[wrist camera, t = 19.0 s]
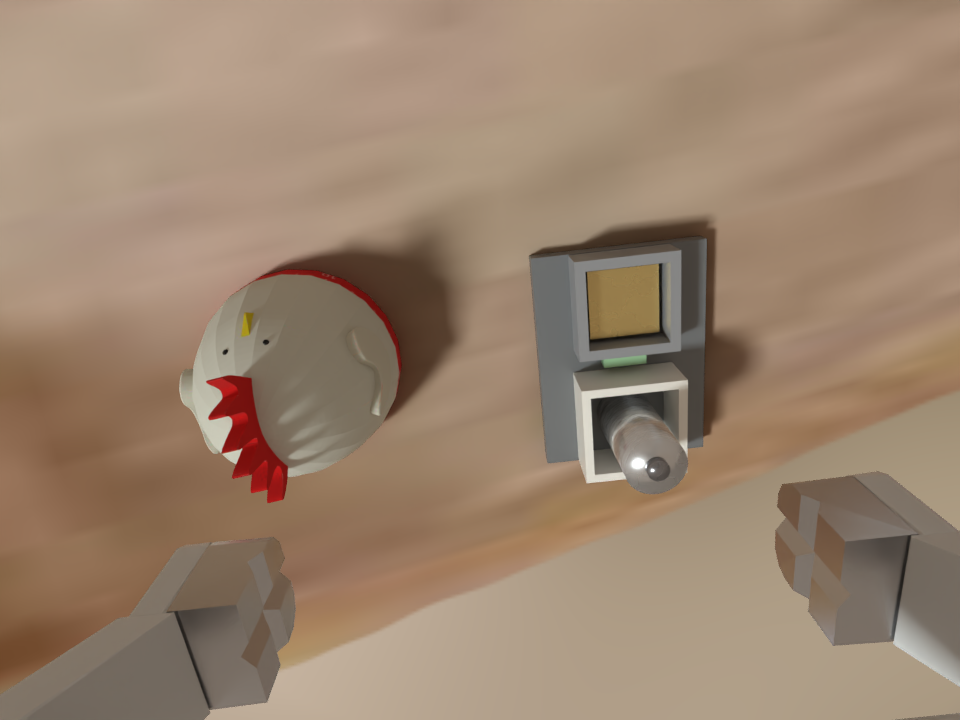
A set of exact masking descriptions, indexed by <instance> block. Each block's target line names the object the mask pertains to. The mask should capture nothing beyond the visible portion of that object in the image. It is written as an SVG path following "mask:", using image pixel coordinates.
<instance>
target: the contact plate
mask: <svg viewBox="0 0 960 720" xmlns="http://www.w3.org/2000/svg"><path fill="white" fill-rule="evenodd" d="M586 290H587V309H588V329H589V338H590V340H591V339H600V338H609V337H618V336H627V335H636V334H645V333H654V332H659V264H651V265H642V266H633V267H624V268H615V269H607V270H598V271H589V272H586Z"/></svg>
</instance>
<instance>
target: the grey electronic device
mask: <svg viewBox="0 0 960 720" xmlns="http://www.w3.org/2000/svg"><path fill="white" fill-rule="evenodd" d="M706 259H707V238H704V237H702V236H695V237H687V238H678V239H669V240H660V241H652V242H643V243H634V244H625V245H617V246H608V247H599V248H591V249H582V250H573V251H564V252H556V253H547V254H538V255H530V256H529V261H530V273H531V285H532V297H533V308H534V320H535V332H536V344H537V356H538V368H539V380H540V392H541V404H542V416H543V428H544V440H545V452H546V458H547V463H555V462H565V461H574V460H579V462H580V465H581V468H582V471H583V473H584V476H585V479H586V482H587V483H594V482H603V481H613V480H622V479H626V477H625V475H624V473H623V471H622V469H621V467H620V465H619V463H618V461H617V459H616V457H615V455H614V453H613V451H612V449H611V447H610V445H609V443H608V441H607V439H606V437H605V435H604V433H603V431H602V429H601V427H600V425H599V423H598V420H597V409H598V406H599V404H600V402H601V400H602V399H603V398H604V397H612V396H621V395H630V394H639V393H642V394H643V395H644V396H645V397H646V398H647V400H648V401H649V402H650V404H651V405H652V407H653V408H654V409H655V411H656V412H657V413H658V415H659V416H660V417H661V419H662V420H663V422H664V423H665V424H666V426H667V427H668V428H669V430H670V431H671V433H672V434H673V435H674V437H675V438H676V439H677V441H678V442H679V443H680V445H681V446H682V448H683V449H684V451H685V452H686V455H687V448H696V447H703V421H704V367H705V313H706ZM651 264H659V332H654V333H645V334H636V335H627V336H618V337H609V338H600V339H591V340H590V338H589V329H588V309H587V290H586V272H589V271H598V270H607V269H615V268H624V267H633V266H642V265H651ZM686 473H687V471H686Z"/></svg>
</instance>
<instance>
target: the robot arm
mask: <svg viewBox="0 0 960 720" xmlns="http://www.w3.org/2000/svg"><path fill="white" fill-rule="evenodd" d="M777 507H778V508H779V509H780V511H781V512H782V513H783V514H784V516H785V517H786V518H785V520H784V521H783V522H782V523H781V524H780V526H779V527H778V528H777V529H776V537H775V550H776V554H777V559H778V563H779V567H780V569H781V571H782V573H783V575H784V578H785V579H786V581H787V582H788V584H789V585H790V587H791V588H792V589H793V590H794V591H796V592H797V593H799V594H801V595H803V596H805V597H807V598H808V599H809V610H808V612H809V613H810V615H811V616H812V617H813V619H814V620H815V621H816V622H817V624H818V626H819V627H820V628H821V630H822V631H823V632H824V634H825V635H826V637H827V638H828V639H829V640H830V642H831V643H832V645H833V646H835V645H849V644H863V643H877V642H891V641H894V643H893V644H894V645H896V646H897V647H899V648H900V649H902V650H903V651H905V652H906V653H908V654H909V655H911V656H912V657H914V658H916V659H917V660H919V661H920V662H922V663H923V664H925V665H927V666H928V667H930V668H931V669H933V670H934V671H936V672H938V673H939V674H941V675H942V676H944V677H945V678H947V679H948V680H950V681H951V682H953V683H955V684H956V685H958V686H959V687H960V531H958V530H957V529H956V528H954V527H953V526H952V525H951V524H950V523H948V522H947V521H946V520H944V519H943V518H942V517H941V516H940V515H938V514H937V513H936V512H934V511H933V510H932V509H930V508H929V507H928V506H927V505H926V504H924V503H923V502H922V501H921V500H919V499H918V498H917V497H916V496H914V495H913V494H912V493H911V492H909V491H908V490H907V489H906V488H904V487H903V486H902V485H900V484H899V483H898V482H897V481H896V480H894V479H893V478H892V477H891V476H889V475H888V474H885V473H882V472H878V471H877V472H870V473H863V474H855V475H849V476H846V477H838V478H830V479H821V480H813V481H805V482H797V483H788V484H782V486H781V488H780V491H779V493H778V504H777ZM284 559H285V557H284V554H283V551H282V548H281V545H280V542H279V541H278V540H277V539H275V538H274V537H270V538H258V539H246V540H234V541H223V542H215V543H211V542H210V543H201V544H192V545H185V546H182V547H180V548H178V549H177V550H176V551H175V552H174V554H173V555H172V557H171V558H170V559H169V561H168V562H167V564H166V565H165V567H164V568H163V569H162V571H161V572H160V574H159V575H158V576H157V578H156V579H155V581H154V582H153V583H152V585H151V586H150V588H149V589H148V590H147V592H146V593H145V595H144V596H143V597H142V599H141V600H140V602H139V603H138V604H137V606H136V607H135V609H134V610H133V611H132V613H131V614H130V616H129V617H124V618H118V619H116V620H115V621H113V622H112V623H110V624H109V625H107V626H106V627H104V628H102V629H101V630H99V631H98V632H96V633H95V634H93V635H92V636H90V637H89V638H87V639H85V640H84V641H82V642H81V643H79V644H78V645H76V646H75V647H73V648H72V649H70V650H68V651H67V652H65V653H64V654H62V655H61V656H59V657H58V658H56V659H55V660H53V661H52V662H50V663H48V664H47V665H45V666H44V667H42V668H41V669H39V670H38V671H36V672H35V673H33V674H31V675H30V676H28V677H27V678H25V679H24V680H22V681H21V682H19V683H18V684H16V685H15V686H13V687H11V688H10V689H8V690H7V691H5V692H4V693H2V694H1V695H0V720H204V719H205V718H206V717H207V716H208V715H209V714H210V710H212V709H220V708H228V707H235V706H243V705H251V704H258V703H266V702H267V701H268V698H269V695H270V692H271V690H272V687H273V684H274V682H275V679H276V676H277V673H278V671H279V668H280V662H279V658H278V655H277V652H278V651H279V650H280V649H281V648H282V647H283V646H285V645H286V644H287V643H288V642H289V639H290V636H291V633H292V630H293V627H294V618H295V609H296V608H295V597H294V591H293V587H292V583H291V581H290V580H289V579H288V578H287V577H286V576H284V575H283V574H282V573H281V572H280V569H281V567H282V564H283V562H284ZM897 720H960V713H956V714H946V715H937V716H927V717H918V718H908V719H897Z"/></svg>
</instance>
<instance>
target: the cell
mask: <svg viewBox="0 0 960 720" xmlns="http://www.w3.org/2000/svg"><path fill="white" fill-rule="evenodd" d="M597 420H598V423H599V425H600V427H601V429H602V431H603V433H604V435H605V437H606V439H607V441H608V443H609V445H610V447H611V449H612V451H613V453H614V455H615V457H616V459H617V461H618V463H619V465H620V467H621V469H622V471H623V473H624V475H625V477H626V479H627V481H628V483H629V484H630V485H631V486H632V487H633V488H634V489H636V490H637V491H640V492H642V493H646V494H659V493H663V492H666V491H668V490H670V489H672V488H674V487H675V486H676V485H677V484H678V483H679V482H680V481H681V480H682V479H683V477H684V476H685V474H686V471H687V467H688V458H687V455H686V452H685V451H684V449H683V448H682V446H681V445H680V443H679V442H678V441H677V439H676V438H675V437H674V435H673V434H672V433H671V431H670V430H669V428H668V427H667V426H666V424H665V423H664V422H663V420H662V419H661V417H660V416H659V415H658V413H657V412H656V411H655V409H654V408H653V407H652V405H651V404H650V402H649V401H648V400H647V398H646V397H645V396H644V395H643V394H642V393H639V394H630V395H621V396H612V397H604V398H603V399H602V400H601V402H600V404H599V406H598V409H597Z"/></svg>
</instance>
